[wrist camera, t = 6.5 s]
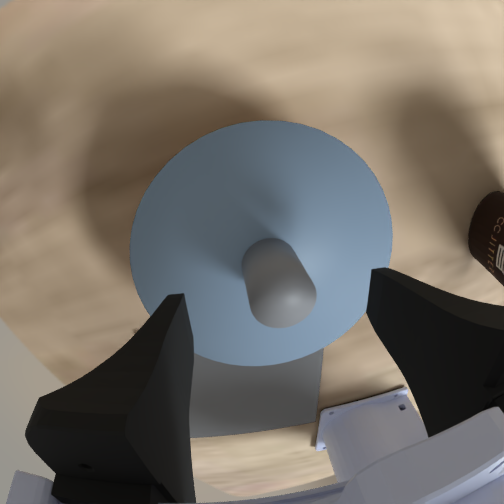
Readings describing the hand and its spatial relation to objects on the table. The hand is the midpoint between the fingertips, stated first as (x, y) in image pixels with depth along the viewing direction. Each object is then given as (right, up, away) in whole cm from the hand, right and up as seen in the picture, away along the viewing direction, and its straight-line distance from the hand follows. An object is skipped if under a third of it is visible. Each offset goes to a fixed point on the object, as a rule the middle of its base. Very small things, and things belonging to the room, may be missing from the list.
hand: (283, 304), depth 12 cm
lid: (0, +2, +4) cm, 4 cm away
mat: (-2, -9, +12) cm, 15 cm away
